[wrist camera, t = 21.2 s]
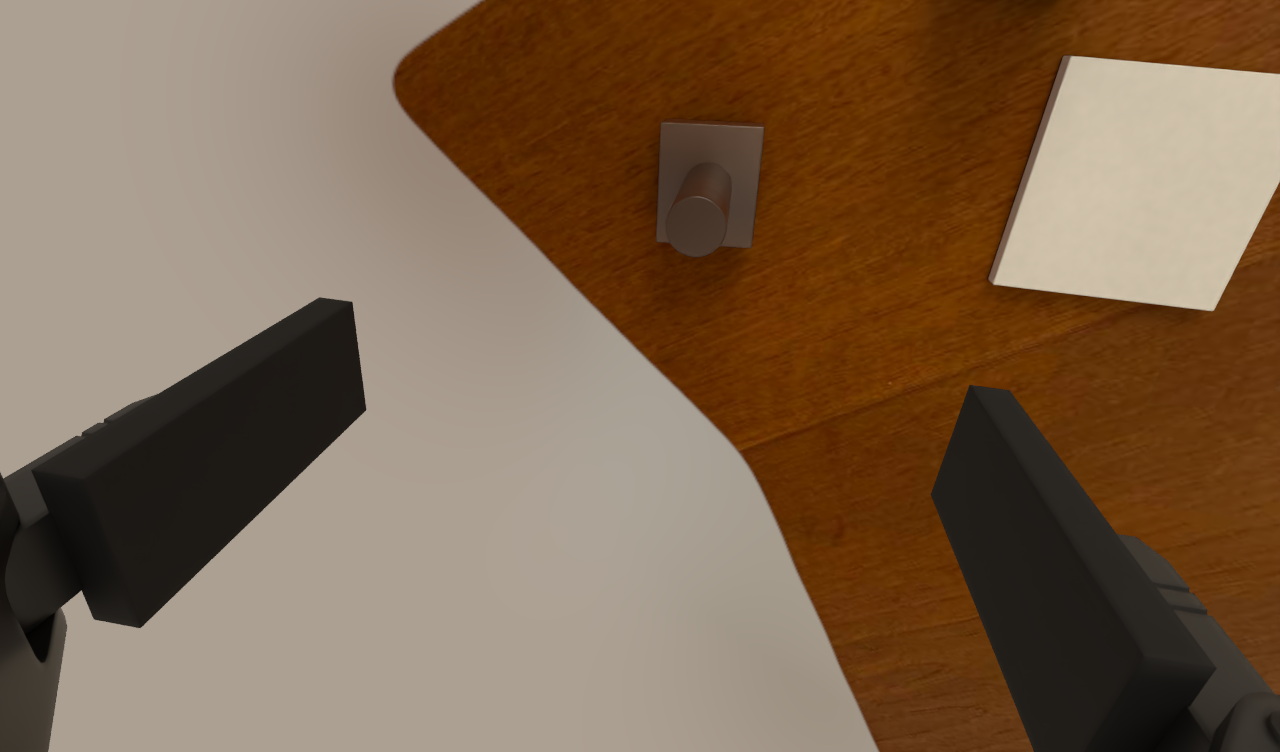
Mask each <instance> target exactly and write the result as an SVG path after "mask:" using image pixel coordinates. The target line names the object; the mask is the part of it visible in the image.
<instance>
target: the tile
mask: <svg viewBox="0 0 1280 752" xmlns="http://www.w3.org/2000/svg"><path fill="white" fill-rule="evenodd" d="M1279 182H1280V74H1272V73H1260V72H1249V71H1238V70H1227V69H1216V68H1204V67H1193V66H1182V65H1171V64H1159V63H1148V62H1137V61H1126V60H1114V59H1103V58H1092V57H1081V56H1063V58H1062V61H1061V64H1060V67H1059V70H1058V73H1057V76H1056V79H1055V82H1054V85H1053V88H1052V91H1051V94H1050V97H1049V100H1048V103H1047V106H1046V109H1045V112H1044V115H1043V118H1042V121H1041V124H1040V127H1039V130H1038V133H1037V136H1036V139H1035V142H1034V145H1033V147H1032V150H1031V153H1030V156H1029V159H1028V162H1027V165H1026V168H1025V171H1024V174H1023V177H1022V180H1021V183H1020V186H1019V189H1018V192H1017V195H1016V198H1015V201H1014V204H1013V207H1012V210H1011V213H1010V216H1009V219H1008V222H1007V225H1006V228H1005V231H1004V234H1003V236H1002V239H1001V242H1000V245H999V248H998V251H997V254H996V257H995V260H994V263H993V266H992V269H991V272H990V275H989V278H988V280H989V281H990V282H991V283H992V284H994V285H1000V286H1008V287H1017V288H1025V289H1033V290H1041V291H1050V292H1058V293H1066V294H1074V295H1083V296H1091V297H1099V298H1107V299H1116V300H1124V301H1132V302H1140V303H1149V304H1157V305H1165V306H1173V307H1182V308H1190V309H1198V310H1206V311H1213V310H1214V309H1215V307H1216V305H1217V303H1218V301H1219V299H1220V297H1221V295H1222V293H1223V291H1224V289H1225V287H1226V285H1227V283H1228V282H1229V280H1230V278H1231V276H1232V274H1233V272H1234V270H1235V268H1236V266H1237V264H1238V262H1239V260H1240V258H1241V256H1242V254H1243V252H1244V250H1245V248H1246V246H1247V244H1248V242H1249V240H1250V239H1251V237H1252V235H1253V233H1254V231H1255V229H1256V227H1257V225H1258V223H1259V221H1260V219H1261V217H1262V215H1263V213H1264V211H1265V209H1266V207H1267V205H1268V203H1269V201H1270V199H1271V197H1272V196H1273V194H1274V192H1275V190H1276V188H1277V186H1278V184H1279Z"/></svg>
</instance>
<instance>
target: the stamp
mask: <svg viewBox="0 0 1280 752" xmlns="http://www.w3.org/2000/svg"><path fill="white" fill-rule="evenodd" d="M764 129H765V128H764V123H751V122H730V121H708V120H686V119H664V120H663V121H662V122H661V129H660V153H659V178H658V202H657V226H656V242H666V243H670V244H671V245H672V246H673V247H674V248H675V249H676V250H677V251H678V252H680V253H682V254H684V255H686V256H690V257H702V256H706V255H708V254H711V253H712V252H714V251H715V250H716V249H717V248H718V247H719V246H724V247H739V248H752V241H753V231H754V222H755V213H756V204H757V194H758V185H759V176H760V166H761V157H762V148H763V138H764Z"/></svg>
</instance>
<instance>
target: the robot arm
mask: <svg viewBox="0 0 1280 752" xmlns="http://www.w3.org/2000/svg"><path fill="white" fill-rule="evenodd" d="M360 366H361V365H360V358H359V350H358V342H357V335H356V327H355V319H354V311H353V303H352V302H349V301H342V300H334V299H326V298H318V299H316V300H314V301H313V302H311V303H309V304H308V305H306V306H304V307H303V308H301V309H300V310H298V311H296V312H294V313H293V314H291V315H289V316H288V317H286V318H284V319H283V320H281V321H279V322H278V323H276V324H274V325H273V326H271V327H269V328H268V329H266V330H264V331H263V332H261V333H259V334H258V335H256V336H254V337H253V338H251V339H249V340H248V341H246V342H244V343H243V344H241V345H239V346H238V347H236V348H234V349H233V350H231V351H229V352H228V353H226V354H224V355H223V356H221V357H219V358H218V359H216V360H214V361H212V362H211V363H209V364H208V365H206V366H204V367H203V368H201V369H199V370H197V371H196V372H194V373H192V374H191V375H189V376H188V377H186V378H184V379H182V380H181V381H179V382H178V383H176V384H174V385H173V386H171V387H169V388H167V389H166V390H164V391H163V392H161V393H159V394H157V395H154V396H151V397H148V398H146V399H143V400H140V401H137V402H134V403H132V404H130V405H128V406H126V407H125V408H123V409H121V410H120V411H118V412H116V413H114V414H113V415H111V416H109V417H108V418H106V419H104V423H97V424H96V425H94V426H92V427H90V428H89V429H87V430H85V431H84V432H82V436H75V437H74V438H72V439H70V440H68V441H67V442H65V443H63V444H62V445H60V446H58V447H56V448H55V449H53V450H51V451H50V452H48V453H46V454H45V455H43V456H41V457H39V458H38V459H36V460H34V461H33V462H31V463H29V464H28V465H26V466H24V467H22V468H21V469H19V470H17V471H16V472H14V473H12V474H11V475H9V476H7V477H5V478H4V479H3V478H2V475H1V473H0V752H48V749H49V742H50V736H51V728H52V722H53V716H54V709H55V703H56V696H57V690H58V683H59V677H60V670H61V664H62V657H63V650H64V644H65V637H66V631H67V624H66V620H65V616H64V613H63V611H62V609H61V607H62V606H63V605H64V604H65V603H66V602H68V601H69V600H70V599H71V598H73V597H74V596H75V595H76V594H78V593H79V592H80V591H81V590H82V592H83V595H84V597H85V599H86V601H87V604H88V606H89V609H90V611H91V613H92V616H93V618H94V619H95V620H100V621H106V622H111V623H116V624H121V625H127V626H132V627H137V628H141V627H142V626H143V625H144V624H145V623H146V622H147V621H148V620H149V619H150V618H151V617H153V615H154V614H156V612H158V611H159V610H160V609H161V608H162V607H163V606H164V605H165V604H166V603H167V602H168V601H169V600H170V599H171V598H172V597H173V596H174V595H175V594H176V593H177V592H178V591H179V590H180V589H181V588H182V587H183V586H185V585H186V584H187V583H188V582H189V581H190V580H191V579H192V578H193V577H194V576H195V575H196V574H197V573H198V572H199V571H200V570H201V569H202V568H203V567H204V566H205V565H206V564H207V563H208V562H209V561H210V560H211V559H213V558H214V557H215V556H216V555H217V554H218V553H219V552H220V551H221V550H222V549H223V548H224V547H225V546H226V545H227V544H228V543H229V542H230V541H231V540H232V539H233V538H234V537H235V536H236V535H237V534H238V533H239V532H240V531H241V530H242V529H244V528H245V526H247V525H248V524H249V523H250V522H251V521H252V520H253V519H254V518H255V517H256V516H257V515H258V514H259V513H260V512H261V511H262V510H263V509H264V508H265V507H266V506H267V505H268V504H269V503H270V502H272V500H274V499H275V498H276V497H277V496H278V495H279V494H280V493H281V492H282V491H283V490H284V489H285V488H286V487H287V486H288V485H289V484H290V483H291V482H292V481H293V480H294V479H295V478H296V477H297V476H298V475H299V474H300V473H301V472H303V471H304V470H305V469H306V468H307V467H308V466H309V465H310V464H311V463H312V461H314V460H315V459H316V458H317V457H318V456H319V455H320V454H321V453H322V452H323V451H324V450H325V449H326V448H327V447H328V446H329V445H331V443H332V442H334V441H335V440H336V439H337V438H338V437H339V436H340V435H341V434H342V433H343V432H344V431H345V430H346V429H347V428H348V427H349V426H350V425H351V424H352V423H353V422H354V421H355V420H356V419H357V418H358V417H359V416H360V415H362V414H363V413H364V412H365V411H366V405H365V398H364V389H363V381H362V373H361V367H360ZM931 496H932V499H933V501H934V504H935V506H936V509H937V511H938V514H939V516H940V519H941V521H942V524H943V526H944V529H945V531H946V534H947V536H948V538H949V541H950V543H951V546H952V548H953V551H954V553H955V556H956V558H957V561H958V563H959V566H960V568H961V571H962V573H963V576H964V578H965V581H966V583H967V586H968V588H969V591H970V593H971V596H972V598H973V601H974V603H975V606H976V608H977V611H978V613H979V616H980V618H981V620H982V623H983V625H984V628H985V630H986V633H987V635H988V638H989V640H990V643H991V645H992V648H993V650H994V653H995V655H996V658H997V660H998V663H999V665H1000V668H1001V670H1002V673H1003V675H1004V678H1005V680H1006V683H1007V685H1008V688H1009V690H1010V693H1011V695H1012V698H1013V700H1014V703H1015V705H1016V707H1017V710H1018V712H1019V715H1020V717H1021V720H1022V722H1023V725H1024V727H1025V730H1026V732H1027V735H1028V737H1029V740H1030V742H1031V745H1032V747H1033V750H1034V752H1280V695H1276V694H1274V692H1273V691H1272V690H1271V689H1270V687H1269V686H1268V685H1267V684H1266V682H1265V681H1264V680H1263V679H1262V677H1261V676H1260V675H1259V674H1258V672H1257V671H1256V670H1255V669H1254V667H1253V666H1252V665H1251V664H1250V663H1249V661H1248V660H1247V659H1246V658H1245V656H1244V655H1243V654H1242V653H1241V651H1240V650H1239V649H1238V648H1237V646H1236V645H1235V644H1234V643H1233V641H1232V640H1231V639H1230V638H1229V636H1228V635H1227V634H1226V633H1225V631H1224V630H1223V629H1222V628H1221V627H1220V625H1219V624H1218V623H1217V622H1216V620H1215V619H1214V618H1213V617H1212V616H1209V615H1207V609H1206V608H1205V607H1204V605H1203V604H1202V603H1201V602H1200V600H1199V599H1198V598H1197V597H1196V596H1195V594H1194V593H1190V592H1189V589H1190V588H1189V587H1188V586H1187V584H1186V583H1185V582H1184V581H1183V579H1182V578H1181V577H1180V576H1179V574H1178V573H1177V572H1176V571H1175V569H1174V568H1173V567H1172V566H1171V565H1170V563H1169V562H1168V561H1167V560H1165V559H1164V558H1163V557H1161V556H1160V555H1159V554H1158V553H1156V552H1155V551H1154V550H1152V549H1151V548H1150V547H1149V546H1147V545H1146V544H1145V543H1143V542H1142V541H1141V540H1139V539H1138V538H1137V537H1133V536H1126V535H1119V534H1116V533H1115V531H1114V530H1113V529H1112V527H1111V526H1110V525H1109V523H1108V522H1107V521H1106V519H1105V518H1104V517H1103V515H1102V514H1101V513H1100V511H1099V510H1098V508H1097V507H1096V506H1095V504H1094V503H1093V502H1092V500H1091V499H1090V498H1089V496H1088V495H1087V494H1086V492H1085V491H1084V490H1083V488H1082V487H1081V486H1080V484H1079V483H1078V482H1077V480H1076V479H1075V478H1074V476H1073V475H1072V474H1071V472H1070V471H1069V470H1068V468H1067V467H1066V466H1065V464H1064V463H1063V462H1062V460H1061V459H1060V458H1059V456H1058V455H1057V454H1056V452H1055V451H1054V450H1053V448H1052V447H1051V446H1050V444H1049V443H1048V442H1047V440H1046V439H1045V438H1044V436H1043V435H1042V433H1041V432H1040V431H1039V429H1038V428H1037V427H1036V425H1035V424H1034V423H1033V421H1032V420H1031V419H1030V417H1029V416H1028V415H1027V413H1026V412H1025V411H1024V409H1023V408H1022V407H1021V405H1020V404H1019V403H1018V401H1017V400H1016V399H1015V397H1014V396H1013V395H1012V393H1011V392H1010V391H1009V390H1003V389H996V388H988V387H981V386H973V385H970V386H969V389H968V391H967V394H966V397H965V400H964V403H963V406H962V408H961V411H960V414H959V417H958V420H957V422H956V425H955V428H954V431H953V434H952V437H951V439H950V442H949V445H948V448H947V451H946V454H945V456H944V459H943V462H942V465H941V468H940V470H939V473H938V476H937V479H936V482H935V485H934V487H933V490H932V493H931Z"/></svg>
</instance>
